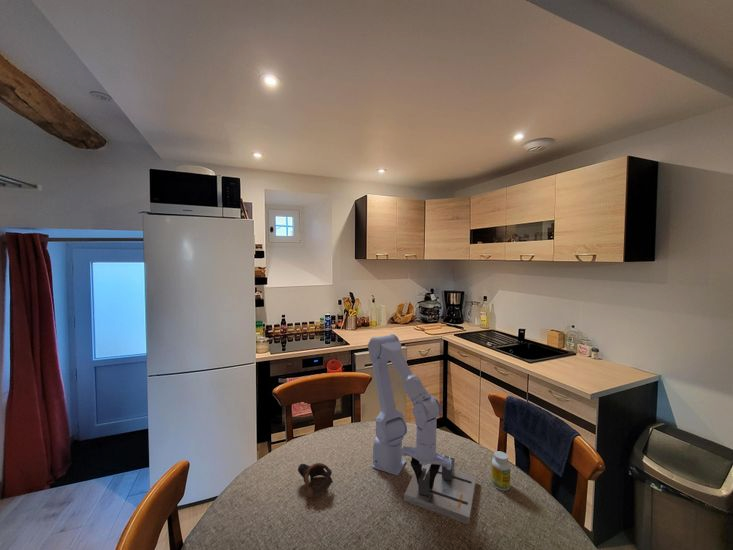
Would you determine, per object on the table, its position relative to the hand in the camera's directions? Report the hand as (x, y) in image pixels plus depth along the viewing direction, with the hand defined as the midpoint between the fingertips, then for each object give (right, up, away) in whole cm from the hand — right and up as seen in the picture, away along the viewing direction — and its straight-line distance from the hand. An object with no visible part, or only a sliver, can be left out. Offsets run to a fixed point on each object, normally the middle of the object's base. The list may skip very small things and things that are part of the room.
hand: (425, 484), depth 88 cm
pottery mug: (-34, -3, +4) cm, 34 cm away
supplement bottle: (+24, -4, +5) cm, 25 cm away
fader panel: (+5, -3, +2) cm, 7 cm away
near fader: (0, -1, 0) cm, 1 cm away
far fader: (+8, -1, +6) cm, 10 cm away
